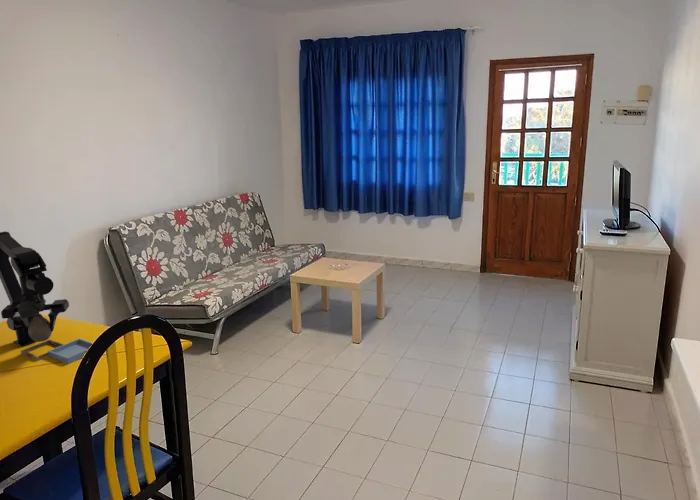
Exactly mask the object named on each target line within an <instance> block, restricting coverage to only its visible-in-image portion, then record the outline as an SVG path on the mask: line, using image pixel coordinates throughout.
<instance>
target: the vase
mask: <svg viewBox="0 0 700 500" xmlns="http://www.w3.org/2000/svg"><path fill="white" fill-rule="evenodd" d="M28 333H29V336H30V338H31V339H32V340H34V341H36V342H38V343H42V342H45V341H47V340H50V338H51V336H52V334H53V331H51V328H50V320H49V319H48V318H46V317H44V316H43V315H42V314H41V313H39V314H38V315H37V316H36V317H33V318H32V320H31V322H30V323H29V326H28Z"/></svg>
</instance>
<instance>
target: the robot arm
mask: <svg viewBox="0 0 700 500" xmlns="http://www.w3.org/2000/svg"><path fill="white" fill-rule="evenodd" d="M47 271H48V269H47V264H46V263H45V261H44V259H43V258H42V256H41V255H40V253H39V252H37V251H36V250H35V249H33V248H31V247H25V246H23V245H22V244H21V243H19V242H18V241H17V240H16V239H15V238H14V237H12V236H11V233H10V232H9V231H0V282H1V284H2V287H3V288H4V291H5V293H6V295H7V298H8V301H9V304H8V305H6V306H5V307H4V308H3V309H2V310H1V312H0V315H1V319H3V320H5V319H7V320H6V325H7V327H8V329H10V330H12V331H15V336H16V339H15V340H14V341H13V344H15V345H19V346H21V347H24V346H27V345H30V344H33V343H35V342H36V341H34V340H32V339H31V338H30V336H29V333H28V326H29V323H30V322H31V320H32V318H33V317H36V316H37V315H38V314H40V313H41V312H44V311H49V313H48V315H47V316H48V317H49V319H48V320H49V322H50V328H51V331H52V332H53V331H54V330H55V325H56V321H57V318H58V315H59V314H60V313H65V312H66V311H67V310H68V308H69V307H70V303H69V301H68V299H66V298H64V299H54V301H53V302H52V303H47V301H46V299H45V296H44V295H47V294H49V293H51V292H52V290H54V289H53V288H54V282H53V280H52V279H51V278H49V277H48V276H46V274H45V272H47ZM16 274H17V275H18V277H17V275H16ZM18 279H19V280H18ZM46 303H47V304H46Z"/></svg>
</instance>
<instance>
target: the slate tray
mask: <svg viewBox="0 0 700 500" xmlns="http://www.w3.org/2000/svg"><path fill="white" fill-rule="evenodd" d="M92 343H93V342H91V341H89V340H85V339H82V338H80V337H79V338H77V339H75V340H72V341H70V342H67V343H63V344H64V345H62V346H60V347H59V346H56V347H55V348H53V349H50V350H47V351H48V353H49V356H48V357H49V358H52V359H54V360H57V361H59V362H62V363H64V364H67V365H70V364H72V363H74V362H77V361H79V360H81V359H83V358H84V357H83V356H84V354H85V353H86V352H87V350H88V349H89V347H90V346H91V345H92ZM82 357H83V358H82Z"/></svg>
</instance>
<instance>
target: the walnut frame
mask: <svg viewBox="0 0 700 500" xmlns="http://www.w3.org/2000/svg"><path fill="white" fill-rule="evenodd" d="M49 344H51V345H54V346H56V347H60V346H62V345H64V344H65V343H62V342H58V341H56V340H53V339H50V338H49V339H47V340H45V341H42V342H38V344H35V345H33V346H29V347H27V348H24V349H22V350H20V354H21V355H23V356H26V357H28V358H30V359H33V360H35V361H40V360H43V359H45V358H47V357H49V353H48V352H45V353H43V354H40V355H35V354H33V353H30V352H32V351H34V350H37V349H41V348H42V347H44V346H47V345H49Z"/></svg>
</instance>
